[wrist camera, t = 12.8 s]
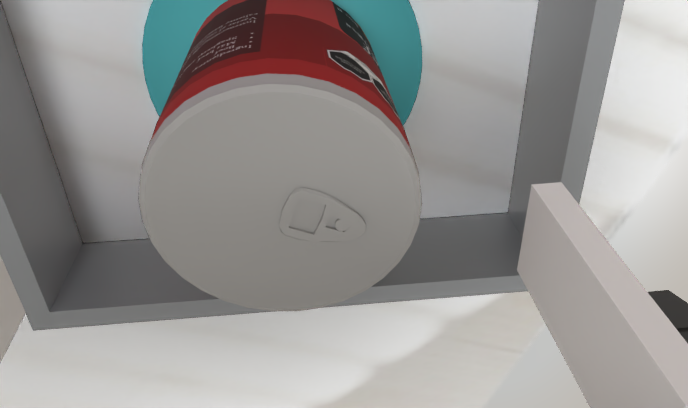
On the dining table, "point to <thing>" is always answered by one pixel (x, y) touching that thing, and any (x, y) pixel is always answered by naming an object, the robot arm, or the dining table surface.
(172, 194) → the canned food
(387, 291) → the grey square tray
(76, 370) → the dining table surface
